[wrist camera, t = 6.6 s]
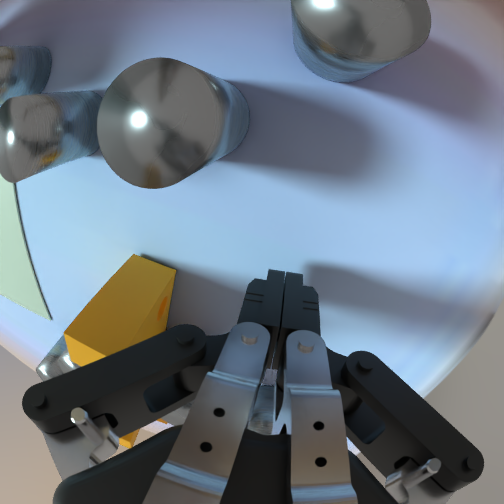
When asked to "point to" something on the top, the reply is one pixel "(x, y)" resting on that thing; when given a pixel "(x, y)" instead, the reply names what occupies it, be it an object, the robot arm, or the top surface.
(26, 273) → the pad
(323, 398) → the robot arm
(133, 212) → the top surface
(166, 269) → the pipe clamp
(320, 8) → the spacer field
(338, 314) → the top surface
